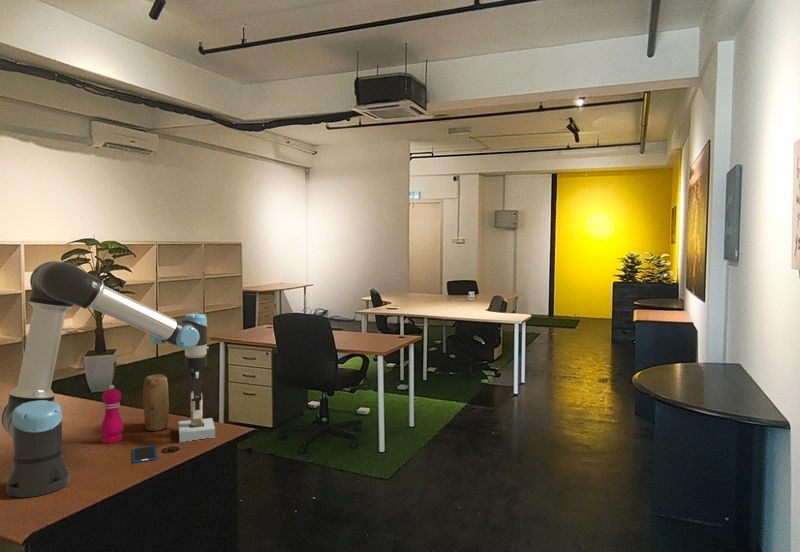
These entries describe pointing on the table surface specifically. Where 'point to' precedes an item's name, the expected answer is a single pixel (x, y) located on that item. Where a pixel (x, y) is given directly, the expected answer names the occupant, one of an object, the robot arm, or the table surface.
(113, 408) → the pepper mill
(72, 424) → the table surface
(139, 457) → the cell phone
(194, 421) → the peg
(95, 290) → the robot arm
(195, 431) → the board
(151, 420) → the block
